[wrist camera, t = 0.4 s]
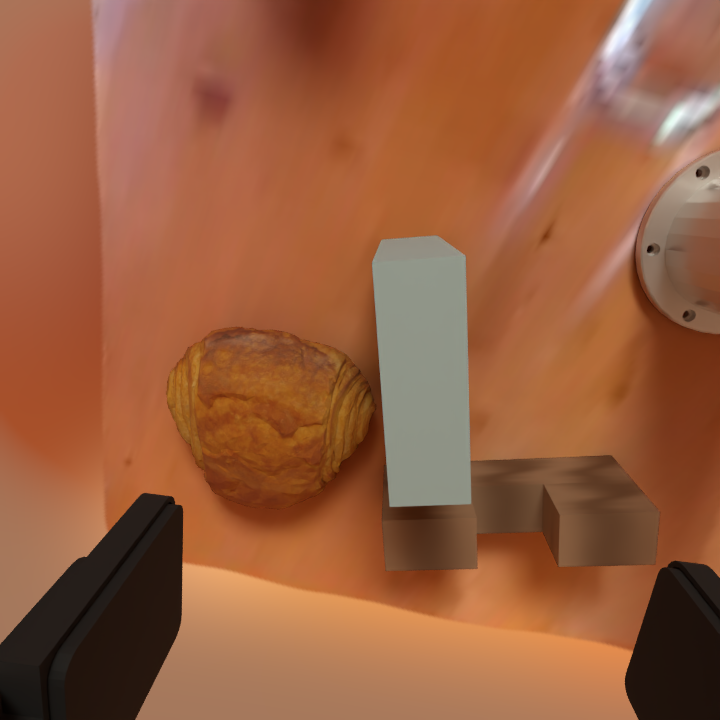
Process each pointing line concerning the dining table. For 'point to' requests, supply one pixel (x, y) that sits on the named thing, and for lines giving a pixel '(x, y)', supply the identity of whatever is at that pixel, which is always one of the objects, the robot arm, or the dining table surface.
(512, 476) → the mottled brown block
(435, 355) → the plain rectangular block
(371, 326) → the dining table surface
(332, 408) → the croissant
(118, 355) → the dining table surface
